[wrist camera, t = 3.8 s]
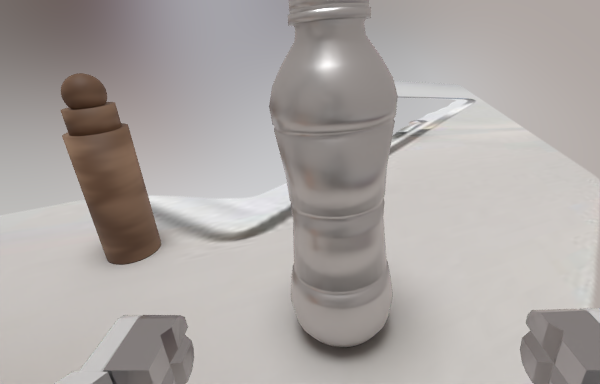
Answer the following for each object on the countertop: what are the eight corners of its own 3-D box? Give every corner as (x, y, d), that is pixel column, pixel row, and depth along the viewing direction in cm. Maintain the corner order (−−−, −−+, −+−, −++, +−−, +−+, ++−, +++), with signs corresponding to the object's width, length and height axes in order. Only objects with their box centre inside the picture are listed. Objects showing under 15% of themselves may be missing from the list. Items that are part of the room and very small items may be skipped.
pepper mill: (95, 265, 32) (24, 79, 26) (123, 237, 37) (69, 73, 30) (146, 263, 32) (87, 74, 25) (169, 235, 36) (124, 68, 30)
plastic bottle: (399, 299, 25) (413, -25, 17) (379, 378, 19) (385, -51, 11) (316, 281, 27) (294, -7, 19) (277, 346, 22) (223, -21, 14)
